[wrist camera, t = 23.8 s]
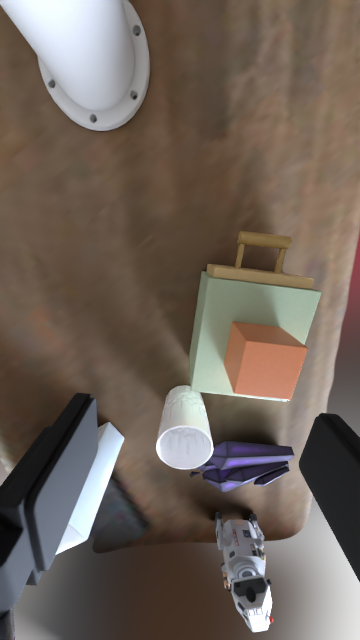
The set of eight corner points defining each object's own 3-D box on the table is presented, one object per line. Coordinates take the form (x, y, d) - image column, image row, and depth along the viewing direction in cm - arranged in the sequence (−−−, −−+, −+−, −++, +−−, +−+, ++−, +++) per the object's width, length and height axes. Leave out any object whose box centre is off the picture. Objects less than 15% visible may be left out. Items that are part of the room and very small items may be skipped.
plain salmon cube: (232, 321, 24) (246, 340, 19) (280, 327, 25) (308, 348, 19) (223, 364, 26) (233, 393, 21) (268, 369, 26) (290, 400, 21)
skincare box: (107, 418, 40) (61, 517, 25) (125, 436, 41) (92, 542, 26) (31, 464, 44) (-49, 574, 29) (50, 479, 45) (-18, 593, 30)
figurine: (258, 494, 46) (293, 603, 31) (251, 528, 49) (280, 642, 35) (216, 492, 46) (231, 601, 31) (212, 527, 49) (224, 640, 35)
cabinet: (201, 270, 32) (208, 277, 23) (284, 281, 32) (321, 291, 23) (188, 357, 36) (190, 391, 27) (261, 366, 36) (286, 401, 28)
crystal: (307, 456, 34) (184, 468, 33) (294, 497, 39) (185, 509, 38) (284, 419, 41) (180, 428, 39) (275, 458, 45) (182, 467, 44)
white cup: (211, 410, 39) (221, 460, 30) (172, 422, 40) (169, 475, 31) (196, 375, 37) (201, 418, 28) (155, 390, 38) (146, 435, 29)
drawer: (212, 231, 29) (221, 224, 22) (293, 241, 29) (327, 238, 22) (194, 348, 34) (197, 372, 28) (263, 356, 35) (283, 382, 28)
